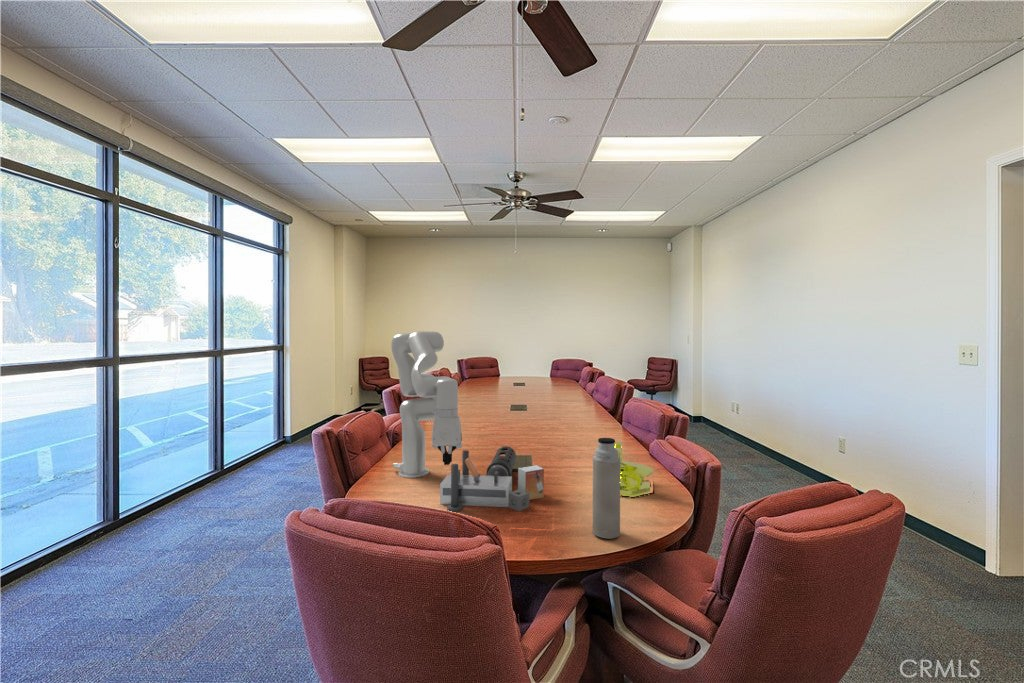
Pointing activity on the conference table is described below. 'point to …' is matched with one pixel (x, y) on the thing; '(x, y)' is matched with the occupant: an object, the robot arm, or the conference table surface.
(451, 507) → the post near
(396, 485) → the conference table surface
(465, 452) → the post far
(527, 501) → the dice cube
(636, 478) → the yellow-green lump
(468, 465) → the paddle
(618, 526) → the thermos bottle
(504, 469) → the muzzle brake
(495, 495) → the breaker panel
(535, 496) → the small box
